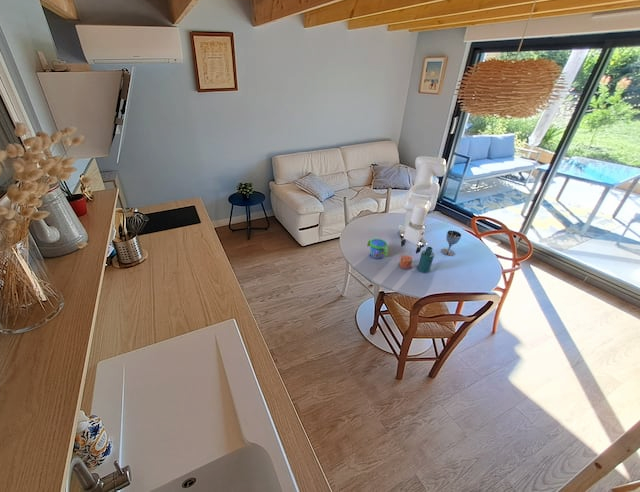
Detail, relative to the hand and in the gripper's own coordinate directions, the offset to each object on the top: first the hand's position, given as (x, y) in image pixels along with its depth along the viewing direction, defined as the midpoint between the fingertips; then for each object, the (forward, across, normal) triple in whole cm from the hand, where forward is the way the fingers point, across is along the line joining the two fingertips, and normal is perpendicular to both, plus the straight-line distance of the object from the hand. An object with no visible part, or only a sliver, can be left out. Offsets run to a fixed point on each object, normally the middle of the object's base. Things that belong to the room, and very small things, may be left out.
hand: (409, 249), depth 174 cm
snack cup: (+13, +19, +5) cm, 23 cm away
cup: (+13, 0, 0) cm, 13 cm away
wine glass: (+13, -10, -36) cm, 40 cm away
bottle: (+13, -8, -6) cm, 17 cm away
